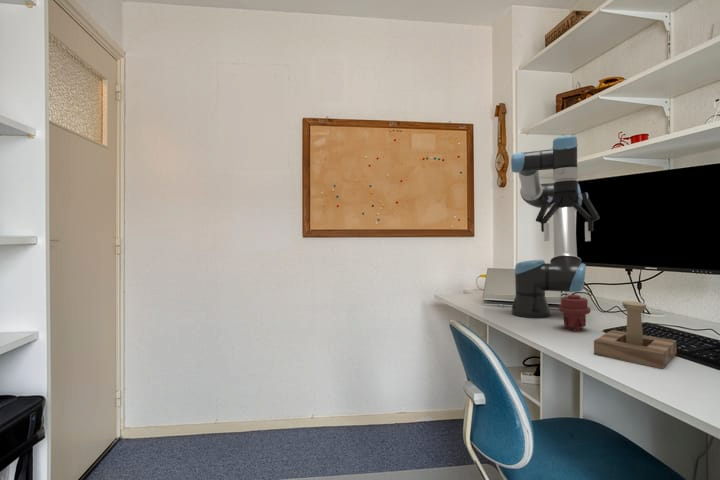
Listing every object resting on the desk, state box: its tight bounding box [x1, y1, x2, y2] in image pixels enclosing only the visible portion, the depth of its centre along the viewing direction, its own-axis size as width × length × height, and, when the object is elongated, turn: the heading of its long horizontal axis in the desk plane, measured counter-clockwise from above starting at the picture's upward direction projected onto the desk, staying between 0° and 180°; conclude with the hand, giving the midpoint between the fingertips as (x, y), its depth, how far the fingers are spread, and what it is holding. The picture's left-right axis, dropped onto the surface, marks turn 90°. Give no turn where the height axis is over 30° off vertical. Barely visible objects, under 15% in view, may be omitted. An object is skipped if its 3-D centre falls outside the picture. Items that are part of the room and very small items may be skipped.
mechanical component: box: [558, 294, 591, 332], centre depth 134 cm, size 12×10×10 cm
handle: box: [622, 300, 647, 346], centre depth 107 cm, size 5×6×15 cm
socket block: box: [593, 329, 677, 370], centre depth 107 cm, size 16×16×4 cm
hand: (566, 241), depth 129 cm, fingers open, 13 cm apart
